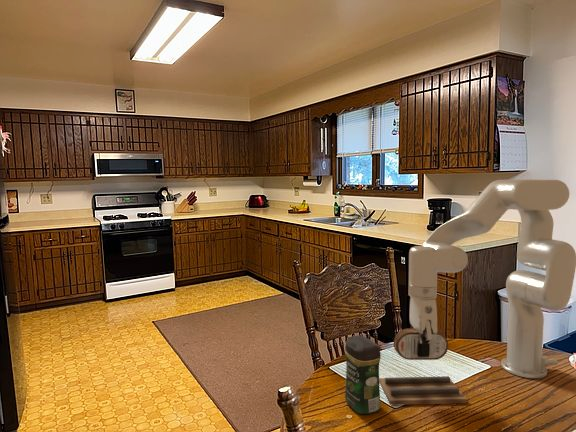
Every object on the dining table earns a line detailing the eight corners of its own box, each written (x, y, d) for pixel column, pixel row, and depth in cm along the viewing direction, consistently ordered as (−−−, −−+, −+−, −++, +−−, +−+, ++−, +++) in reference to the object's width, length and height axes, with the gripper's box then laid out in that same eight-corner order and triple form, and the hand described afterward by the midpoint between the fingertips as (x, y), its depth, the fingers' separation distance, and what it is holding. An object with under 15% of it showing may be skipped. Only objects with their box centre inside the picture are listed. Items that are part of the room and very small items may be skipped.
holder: (448, 380, 120) (448, 372, 120) (466, 403, 108) (466, 393, 108) (379, 382, 120) (379, 373, 120) (389, 404, 108) (389, 395, 108)
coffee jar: (340, 399, 111) (340, 335, 109) (364, 393, 114) (365, 330, 112) (359, 419, 102) (359, 349, 100) (385, 411, 105) (385, 343, 103)
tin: (445, 356, 115) (445, 327, 114) (449, 360, 111) (450, 331, 111) (393, 356, 114) (393, 327, 114) (396, 361, 111) (396, 331, 111)
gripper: (447, 299, 103) (445, 367, 105) (425, 282, 119) (424, 341, 121) (418, 299, 103) (417, 367, 105) (400, 283, 119) (399, 342, 121)
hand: (421, 353), depth 113 cm, fingers closed on tin, 2 cm apart
